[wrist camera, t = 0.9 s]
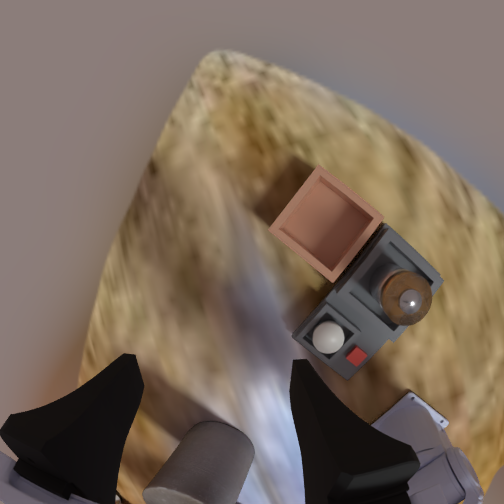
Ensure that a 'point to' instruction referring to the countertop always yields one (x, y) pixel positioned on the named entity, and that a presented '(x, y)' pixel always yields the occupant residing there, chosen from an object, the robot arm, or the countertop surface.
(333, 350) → the test button
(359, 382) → the countertop surface
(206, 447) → the pillar candle
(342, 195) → the small pink square bin
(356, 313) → the checker
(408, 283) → the disc
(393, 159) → the countertop surface
